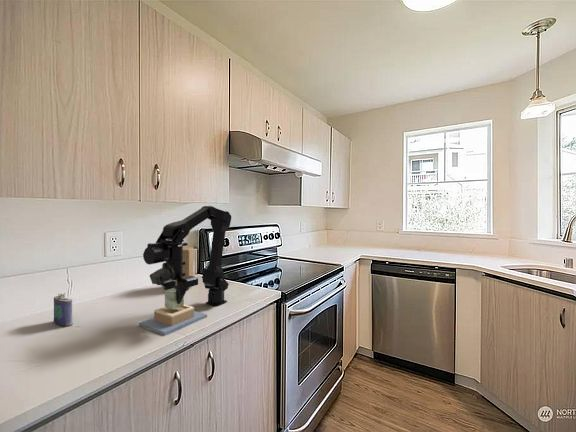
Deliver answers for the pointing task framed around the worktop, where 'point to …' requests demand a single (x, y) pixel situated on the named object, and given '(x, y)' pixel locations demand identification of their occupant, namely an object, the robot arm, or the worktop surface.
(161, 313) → the build base
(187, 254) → the wooden block
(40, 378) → the worktop surface
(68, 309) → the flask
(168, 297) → the sage block
